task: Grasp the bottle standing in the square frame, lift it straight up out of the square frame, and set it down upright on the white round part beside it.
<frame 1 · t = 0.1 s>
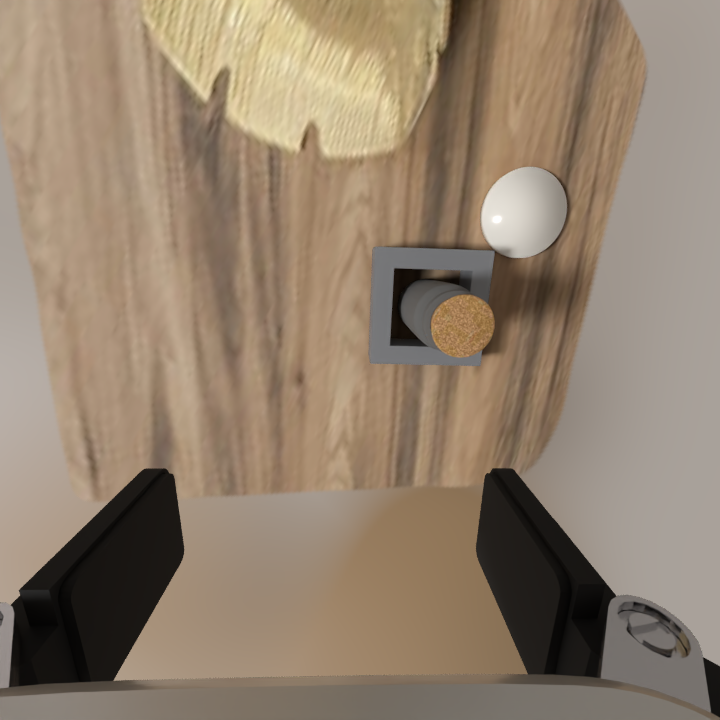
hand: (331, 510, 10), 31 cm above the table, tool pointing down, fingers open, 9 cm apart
bottle: (422, 304, 40), resting in square frame
white round part: (521, 214, 38), on the table
square frame: (422, 305, 40), on the table
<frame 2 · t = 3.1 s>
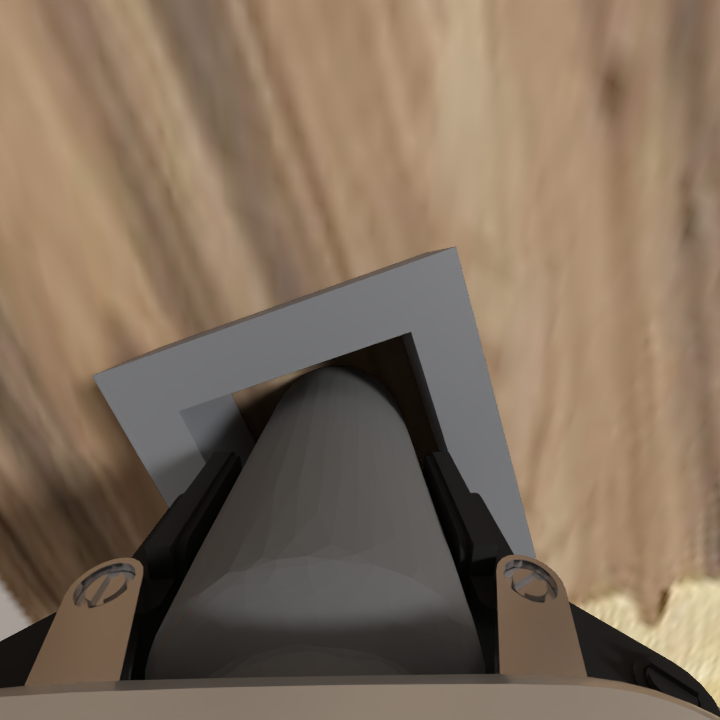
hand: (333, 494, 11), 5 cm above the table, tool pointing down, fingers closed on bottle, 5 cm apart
bottle: (338, 423, 16), resting in square frame, touching gripper
square frame: (338, 425, 16), on the table
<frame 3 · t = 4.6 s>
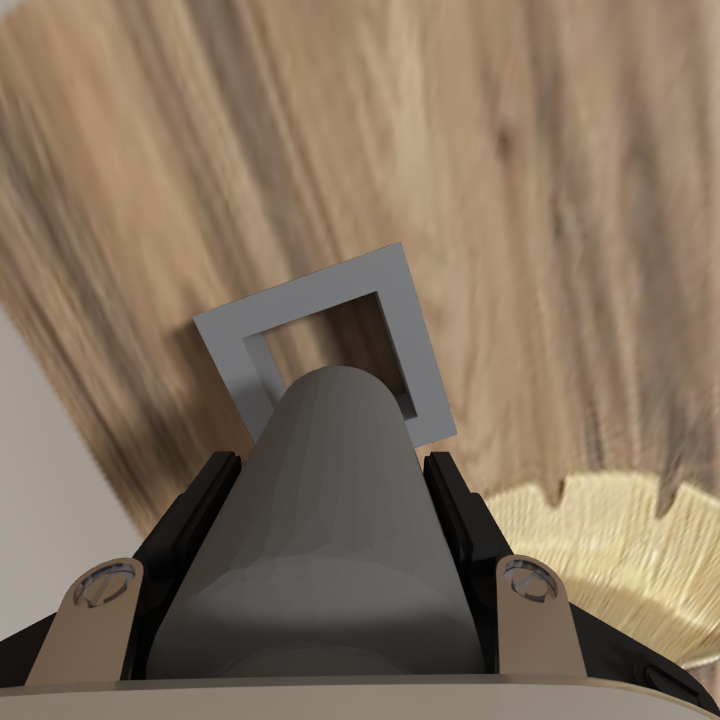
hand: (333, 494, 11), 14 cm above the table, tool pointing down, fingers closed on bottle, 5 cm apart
bottle: (338, 422, 16), point 8 cm above the table, touching gripper
square frame: (335, 360, 24), on the table
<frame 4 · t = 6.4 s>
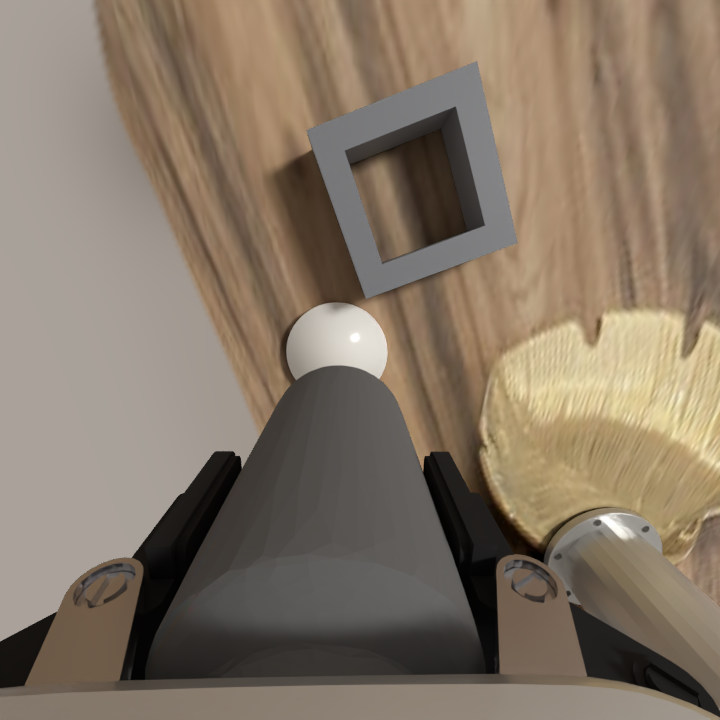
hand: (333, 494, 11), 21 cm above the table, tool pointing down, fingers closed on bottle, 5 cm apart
bottle: (339, 422, 16), point 16 cm above the table, touching gripper
white round part: (337, 351, 32), on the table
square frame: (407, 199, 28), on the table
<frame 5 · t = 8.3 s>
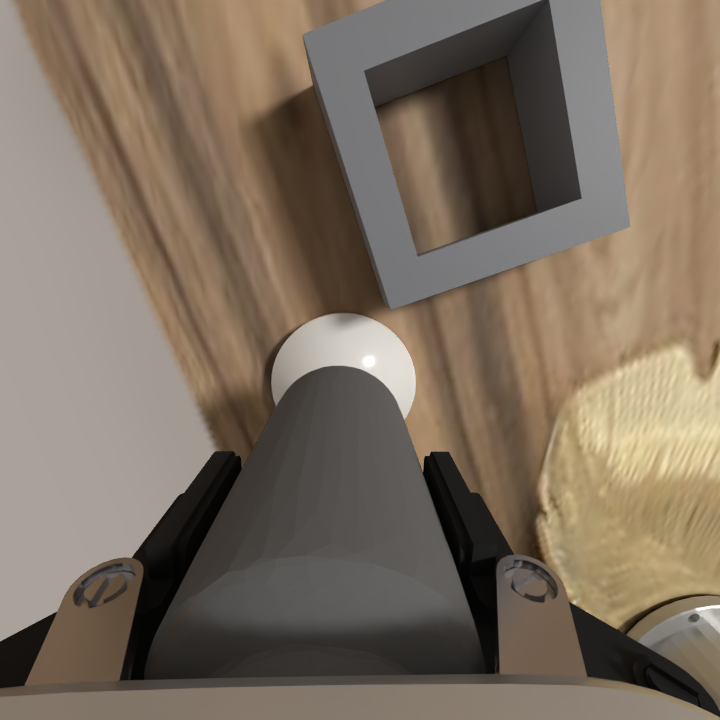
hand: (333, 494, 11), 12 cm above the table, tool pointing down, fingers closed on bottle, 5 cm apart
bottle: (338, 422, 16), point 6 cm above the table, touching gripper
white round part: (344, 382, 22), on the table
square frame: (452, 164, 19), on the table
when the fingers open (7 cm above the table, at t = 9.7 s): bottle drops 1 cm, resting on white round part.
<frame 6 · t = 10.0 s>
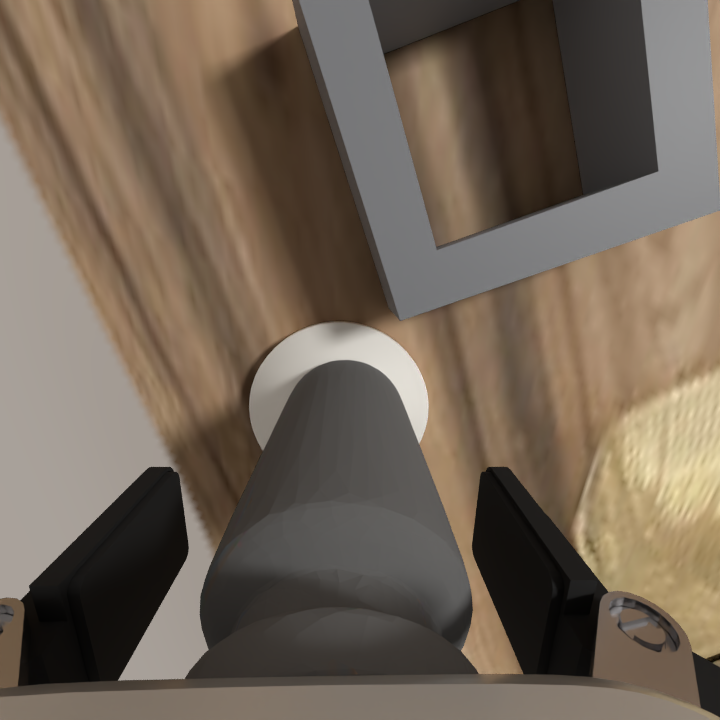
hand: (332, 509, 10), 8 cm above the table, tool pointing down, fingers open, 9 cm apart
bottle: (345, 412, 18), point 1 cm above the table, touching white round part
white round part: (339, 406, 18), on the table
square frame: (477, 132, 15), on the table
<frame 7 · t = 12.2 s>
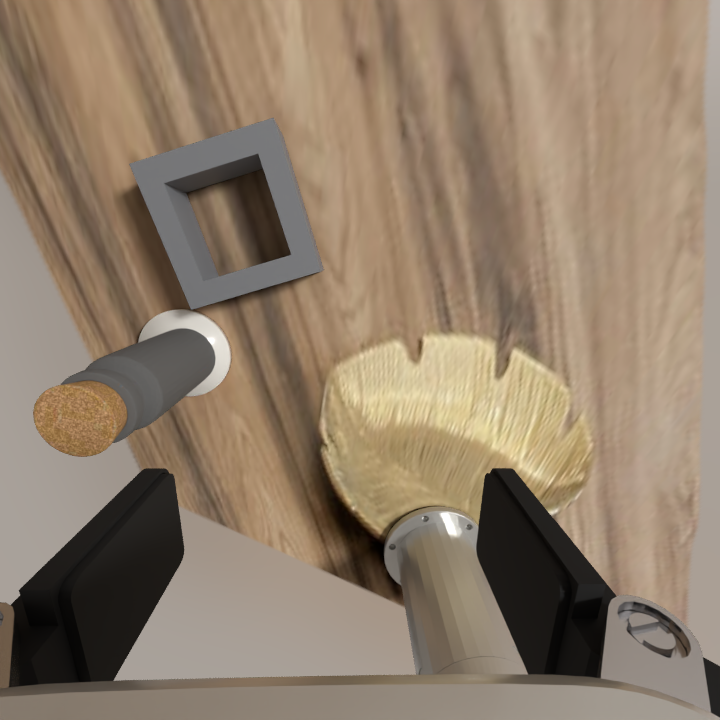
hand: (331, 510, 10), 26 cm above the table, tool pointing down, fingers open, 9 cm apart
bottle: (187, 355, 35), point 1 cm above the table, touching white round part
white round part: (187, 352, 36), on the table
square frame: (243, 225, 33), on the table
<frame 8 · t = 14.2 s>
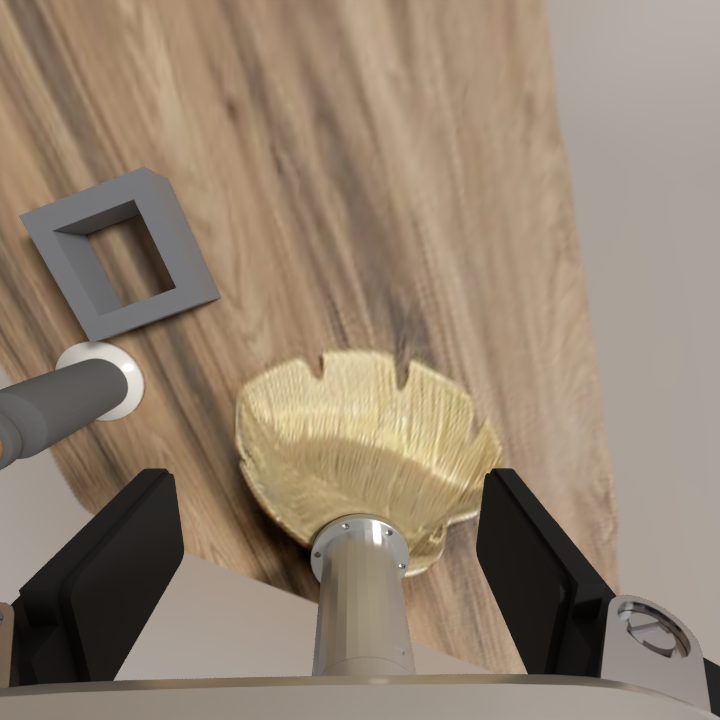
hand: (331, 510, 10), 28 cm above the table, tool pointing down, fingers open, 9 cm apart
bottle: (102, 383, 38), point 1 cm above the table, touching white round part
white round part: (103, 380, 38), on the table
square frame: (141, 260, 35), on the table
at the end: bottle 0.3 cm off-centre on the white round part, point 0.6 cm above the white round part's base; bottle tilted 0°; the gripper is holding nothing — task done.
